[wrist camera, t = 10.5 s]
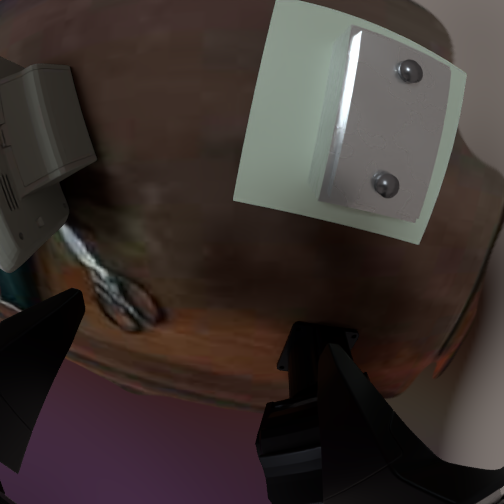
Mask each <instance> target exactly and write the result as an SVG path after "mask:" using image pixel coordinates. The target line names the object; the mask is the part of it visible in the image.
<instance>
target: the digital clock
mask: <svg viewBox="0 0 504 504" xmlns="http://www.w3.org/2000/svg"><path fill="white" fill-rule="evenodd" d="M95 161H97V158H96V155H95V152H94V149H93V146H92V143H91V140H90V137H89V134H88V131H87V128H86V125H85V122H84V118H83V115H82V112H81V108H80V105H79V101H78V97H77V94H76V90H75V86H74V82H73V78H72V74H71V70H70V66H67V65H56V64H34V65H31V66H29V67H27V68H23V67H22V66H20V65H18V64H16V63H13V62H11V61H9V60H7V59H5V58H3V57H0V269H2V270H4V271H5V272H8V273H11V272H13V271H15V270H16V269H17V268H18V267H20V266H21V265H22V264H23V263H24V262H25V261H26V260H27V259H28V258H29V257H30V256H31V255H32V254H33V253H34V252H35V251H36V250H37V249H38V248H39V247H40V246H41V245H42V244H44V243H45V242H46V241H47V240H48V239H49V238H50V237H51V236H52V235H53V234H54V233H55V232H57V231H58V230H59V229H60V228H61V227H62V226H63V225H64V224H65V222H66V220H67V218H68V215H69V207H68V204H67V202H66V199H65V196H64V194H63V191H62V189H61V186H60V183H59V182H60V181H62V180H64V179H65V178H67V177H69V176H70V175H72V174H74V173H75V172H77V171H79V170H81V169H82V168H84V167H86V166H88V165H90V164H92V163H93V162H95Z"/></svg>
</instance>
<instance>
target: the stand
mask: <svg viewBox="0 0 504 504" xmlns="http://www.w3.org/2000/svg"><path fill="white" fill-rule="evenodd" d="M351 24H352V25H356V26H359V27H362V28H365V29H368V30H370V31H373V32H376V33H379V34H381V35H384V36H386V37H389V38H391V39H394V40H396V41H399V42H401V43H403V44H406V45H408V46H410V47H412V48H414V49H416V50H419V51H421V52H423V53H425V54H427V55H429V56H431V57H433V58H434V59H436V60H438V61H440V62H442V63H444V64H446V65H447V66H449V67H450V70H451V80H450V88H449V96H448V103H447V109H446V115H445V120H444V126H443V131H442V136H441V140H440V145H439V149H438V154H437V158H436V162H435V166H434V169H433V173H432V177H431V180H430V184H429V187H428V191H427V194H426V197H425V201H424V204H423V207H422V210H421V213H420V216H419V219H416V222H415V223H412V222H408V221H404V220H400V219H396V218H392V217H388V216H384V215H380V214H376V213H372V212H367V211H363V210H359V209H354V208H350V207H345V206H340V205H336V204H331V203H326V202H321V201H318V200H317V198H316V196H315V194H314V193H313V191H312V189H311V187H310V186H309V184H308V182H307V181H308V177H309V172H310V167H311V163H312V158H313V153H314V148H315V143H316V138H317V133H318V128H319V123H320V118H321V112H322V107H323V101H324V96H325V90H326V85H327V79H328V73H329V67H330V61H331V55H332V48H333V42H334V41H335V40H336V39H337V38H338V37H339V36H340V35H341V34H342V33H343V32H344V31H345V30H346V29H347V28H348V27H349V26H350V25H351ZM466 76H467V74H466V73H465V72H463V71H462V70H461V69H459V68H458V67H456V66H454V65H453V64H451V63H450V62H448V61H447V60H445V59H443V58H442V57H440V56H438V55H437V54H435V53H433V52H431V51H430V50H428V49H426V48H424V47H422V46H421V45H419V44H417V43H415V42H413V41H411V40H409V39H407V38H405V37H403V36H401V35H399V34H396V33H394V32H392V31H390V30H388V29H385V28H383V27H381V26H378V25H376V24H373V23H371V22H368V21H366V20H363V19H360V18H357V17H355V16H352V15H349V14H346V13H343V12H340V11H337V10H333V9H330V8H326V7H323V6H319V5H315V4H312V3H308V2H303V1H299V0H276V2H275V6H274V10H273V15H272V19H271V23H270V27H269V31H268V35H267V39H266V44H265V48H264V52H263V57H262V61H261V65H260V70H259V74H258V79H257V83H256V88H255V92H254V97H253V102H252V106H251V111H250V116H249V121H248V126H247V130H246V135H245V140H244V145H243V150H242V155H241V161H240V166H239V171H238V176H237V181H236V187H235V192H234V197H233V201H238V202H243V203H248V204H253V205H258V206H263V207H267V208H272V209H277V210H281V211H286V212H291V213H295V214H299V215H304V216H308V217H313V218H317V219H321V220H325V221H330V222H334V223H338V224H342V225H346V226H350V227H354V228H358V229H362V230H366V231H370V232H374V233H377V234H381V235H385V236H389V237H392V238H396V239H400V240H403V241H407V242H410V243H414V244H417V245H419V243H420V241H421V238H422V236H423V233H424V231H425V228H426V226H427V223H428V221H429V218H430V216H431V213H432V210H433V208H434V205H435V202H436V199H437V196H438V194H439V191H440V188H441V185H442V182H443V178H444V175H445V172H446V169H447V165H448V162H449V158H450V155H451V151H452V147H453V143H454V139H455V135H456V131H457V127H458V122H459V117H460V112H461V108H462V102H463V96H464V90H465V83H466Z"/></svg>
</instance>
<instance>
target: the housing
mask: <svg viewBox="0 0 504 504" xmlns="http://www.w3.org/2000/svg"><path fill="white" fill-rule="evenodd" d="M450 80H451V70H450V67H449V66H447V65H446V64H444V63H442V62H440V61H438V60H436V59H434V58H433V57H431V56H429V55H427V54H425V53H423V52H421V51H419V50H416V49H414V48H412V47H410V46H408V45H406V44H403V43H401V42H399V41H396V40H394V39H391V38H389V37H386V36H384V35H381V34H379V33H376V32H373V31H370V30H368V29H365V28H362V27H359V26H356V25H352V24H351V25H350V26H349V27H348V28H347V29H346V30H345V31H344V32H343V33H342V34H341V35H340V36H339V37H338V38H337V39H336V40H335V41H334V42H333V48H332V55H331V61H330V67H329V73H328V79H327V85H326V90H325V96H324V101H323V107H322V112H321V118H320V123H319V128H318V133H317V138H316V143H315V148H314V153H313V158H312V163H311V167H310V172H309V177H308V181H307V182H308V184H309V186H310V187H311V189H312V191H313V193H314V194H315V196H316V198H317V200H318V201H321V202H326V203H331V204H336V205H340V206H345V207H350V208H354V209H359V210H363V211H367V212H372V213H376V214H380V215H384V216H388V217H392V218H396V219H400V220H404V221H408V222H412V223H415V222H416V219H419V216H420V213H421V210H422V207H423V204H424V201H425V197H426V194H427V191H428V187H429V184H430V180H431V177H432V173H433V169H434V166H435V162H436V158H437V154H438V149H439V145H440V140H441V136H442V131H443V126H444V120H445V115H446V109H447V103H448V96H449V88H450Z"/></svg>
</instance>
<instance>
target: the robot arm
mask: <svg viewBox="0 0 504 504" xmlns="http://www.w3.org/2000/svg"><path fill="white" fill-rule="evenodd" d="M84 313H85V304H84V299H83V294H82V292H81V291H80V290H78V289H75V288H70V289H68V290H66V291H64V292H62V293H59V294H57V295H55V296H53V297H51V298H49V299H46V300H44V301H42V302H40V303H38V304H36V305H34V306H32V307H30V308H27V309H25V310H23V311H21V312H19V313H17V314H15V315H13V316H11V317H9V318H7V319H5V320H3V321H1V323H0V462H1V463H3V464H4V465H5V466H7V467H8V468H10V469H11V470H13V471H14V472H16V473H17V474H18V472H19V470H20V467H21V463H22V460H23V457H24V454H25V451H26V447H27V445H28V442H29V439H30V437H31V434H32V431H33V428H34V425H35V423H36V420H37V418H38V415H39V413H40V410H41V408H42V406H43V403H44V401H45V399H46V396H47V394H48V392H49V390H50V387H51V385H52V383H53V381H54V379H55V377H56V375H57V373H58V370H59V368H60V366H61V364H62V362H63V360H64V358H65V356H66V354H67V352H68V351H69V348H70V346H71V344H72V342H73V340H74V337H75V335H76V332H77V330H78V327H79V325H80V323H81V320H82V318H83V316H84ZM297 327H300V328H297ZM352 335H353V336H352ZM358 337H359V333H358V331H357V330H352V329H344V328H336V327H329V326H322V325H315V324H308V323H301V322H297V323H295V324H293V326H292V329H291V331H290V334H289V336H288V339H287V341H286V343H285V346H284V348H283V351H282V353H281V356H280V358H279V360H278V363H277V369H278V370H282V371H288V375H289V399H285V400H281V401H277V402H269V403H267V404H266V408H265V411H264V414H263V418H262V421H261V425H260V428H259V431H258V434H257V439H256V443H255V444H256V447H257V453H258V457H259V460H260V462H261V465H262V467H263V470H264V473H265V477H266V484H267V492H268V499H269V500H270V501H271V502H272V504H504V494H503V495H501V492H500V488H502V487H503V486H504V467H502V468H501V469H498V470H485V469H479V468H473V467H468V466H462V465H457V464H452V463H448V462H446V461H443V460H442V459H440V458H439V457H437V456H436V455H435V454H434V453H433V452H432V451H431V450H430V449H429V448H428V447H427V446H426V445H425V444H424V443H423V442H422V441H421V440H420V439H419V438H418V437H417V436H416V435H415V434H414V433H413V432H412V431H411V430H410V429H409V428H408V427H407V426H406V424H405V423H404V422H403V421H402V420H401V419H400V417H399V416H398V415H397V414H396V412H395V411H393V409H392V408H391V406H390V405H389V404H388V403H387V402H386V400H385V399H384V398H383V397H382V396H381V394H380V393H379V392H378V391H377V389H376V388H375V387H374V386H373V385H372V383H371V382H370V380H369V377H368V374H367V372H365V373H362V371H361V370H360V369H359V368H358V367H357V365H356V364H355V363H354V362H353V358H352V355H351V349H352V347H353V346H354V344H355V342H356V341H357V339H358ZM0 504H16V503H15V502H14V501H12V500H11V499H9V498H8V497H7V496H6V495H5V492H4V490H3V487H2V484H1V481H0Z"/></svg>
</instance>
